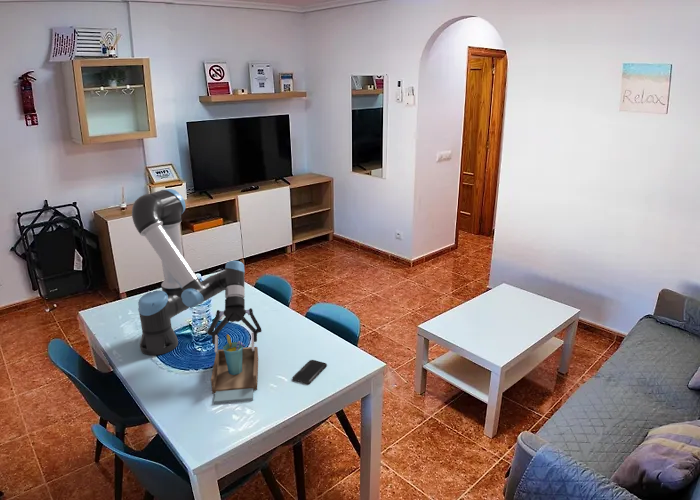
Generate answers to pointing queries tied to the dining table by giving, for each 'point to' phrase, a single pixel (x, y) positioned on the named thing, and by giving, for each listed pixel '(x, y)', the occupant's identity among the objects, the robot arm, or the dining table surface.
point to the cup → (233, 356)
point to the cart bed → (240, 381)
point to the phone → (309, 372)
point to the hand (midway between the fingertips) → (234, 351)
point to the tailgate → (233, 395)
